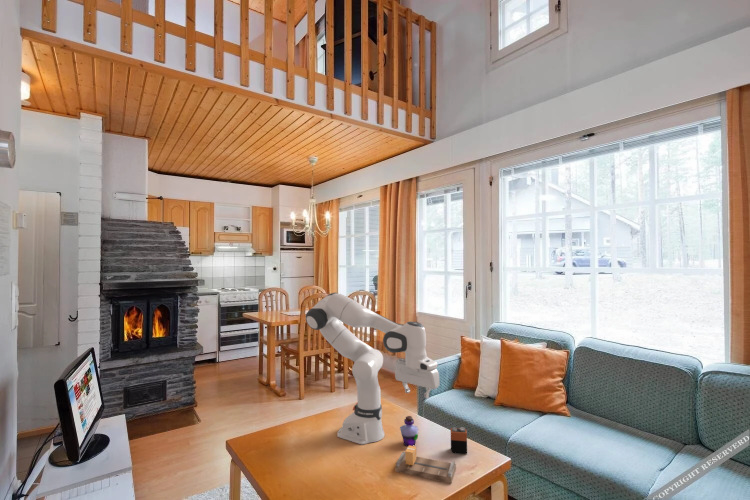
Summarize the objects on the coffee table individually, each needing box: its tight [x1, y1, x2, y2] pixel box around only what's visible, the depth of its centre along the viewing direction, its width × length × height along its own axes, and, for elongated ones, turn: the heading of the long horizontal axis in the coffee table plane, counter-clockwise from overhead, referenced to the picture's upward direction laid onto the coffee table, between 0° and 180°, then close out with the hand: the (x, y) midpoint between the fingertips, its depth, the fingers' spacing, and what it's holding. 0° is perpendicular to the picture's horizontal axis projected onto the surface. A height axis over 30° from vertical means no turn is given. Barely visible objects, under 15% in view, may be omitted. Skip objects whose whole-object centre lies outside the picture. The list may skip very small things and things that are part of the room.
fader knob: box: [404, 445, 417, 465], centre depth 149 cm, size 3×5×5 cm, turn 158°
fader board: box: [394, 451, 457, 484], centre depth 146 cm, size 22×10×3 cm, turn 68°
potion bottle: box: [399, 415, 419, 447], centre depth 168 cm, size 9×9×12 cm
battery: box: [450, 426, 468, 455], centre depth 161 cm, size 4×7×10 cm, turn 79°
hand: (416, 395), depth 154 cm, fingers open, 8 cm apart
